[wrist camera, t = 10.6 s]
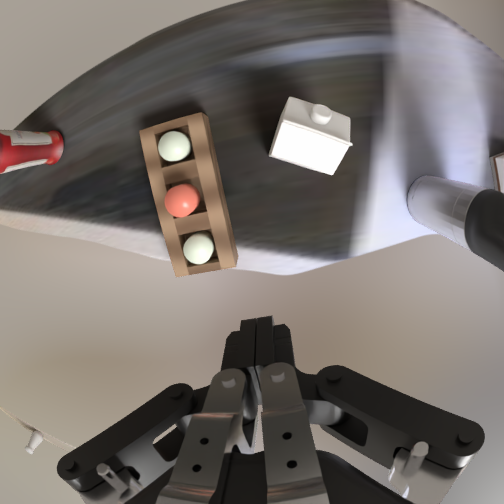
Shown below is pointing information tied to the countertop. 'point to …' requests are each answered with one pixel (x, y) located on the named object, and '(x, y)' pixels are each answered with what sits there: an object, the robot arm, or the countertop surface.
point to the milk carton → (311, 136)
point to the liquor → (28, 149)
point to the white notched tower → (498, 171)
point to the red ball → (182, 200)
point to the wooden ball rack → (208, 184)
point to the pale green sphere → (175, 146)
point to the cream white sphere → (199, 247)
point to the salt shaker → (34, 441)
